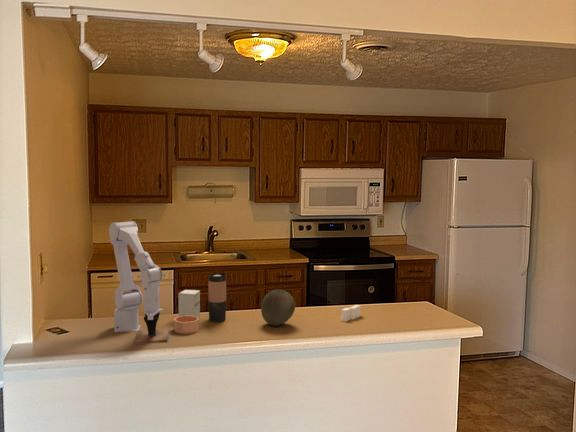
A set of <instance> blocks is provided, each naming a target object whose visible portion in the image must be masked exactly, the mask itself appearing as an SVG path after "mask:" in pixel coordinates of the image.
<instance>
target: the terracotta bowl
mask: <svg viewBox="0 0 576 432" xmlns="http://www.w3.org/2000/svg"><path fill="white" fill-rule="evenodd" d="M173 331H174V333H177V334H182V335H185V334H186V335H187V334H188V335H189V334H194V333H196V332H198V331H200V318H199V317H197V316H192V315H184V316H179V315H177V316H176V317H174V318H173Z"/></svg>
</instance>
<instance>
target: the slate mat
mask: <svg viewBox="0 0 576 432" xmlns="http://www.w3.org/2000/svg"><path fill="white" fill-rule="evenodd" d="M170 334H171V331H169V334H168V340H167V342H166V343H169V340H170ZM136 335H137V332H136V334H135V335H134V339H133V342H132V345H135V344H138V345H139V344H143V343H135V342H134V341H135V338H136ZM160 343H162V344H163V343H165V342H151V343H150V344H160Z"/></svg>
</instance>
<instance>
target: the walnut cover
mask: <svg viewBox="0 0 576 432" xmlns="http://www.w3.org/2000/svg"><path fill="white" fill-rule="evenodd" d="M169 332H170V330H169V329H163V330H162V329H161V330H160V329H159V330H157V329H156V330H155V334H154V335H149V333H148V330H139V331H136V333H137V335H136V334H135V336H136V338H135V337H134V339H135V341H134V340H133V342H135V343H142V344H152V343H151V342H164V343H168V342H167V340H168V334H169Z"/></svg>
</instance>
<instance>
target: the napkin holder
mask: <svg viewBox="0 0 576 432" xmlns="http://www.w3.org/2000/svg"><path fill="white" fill-rule="evenodd" d="M361 307H362V305H359V304H354V305H352V306H350V307H344V308H342V309H341V311H340V312H341V313H340V321H341V322H348V321H350V320H356V319H357V318H359V317H361V313H362V312H361V309H362V308H361Z"/></svg>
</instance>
